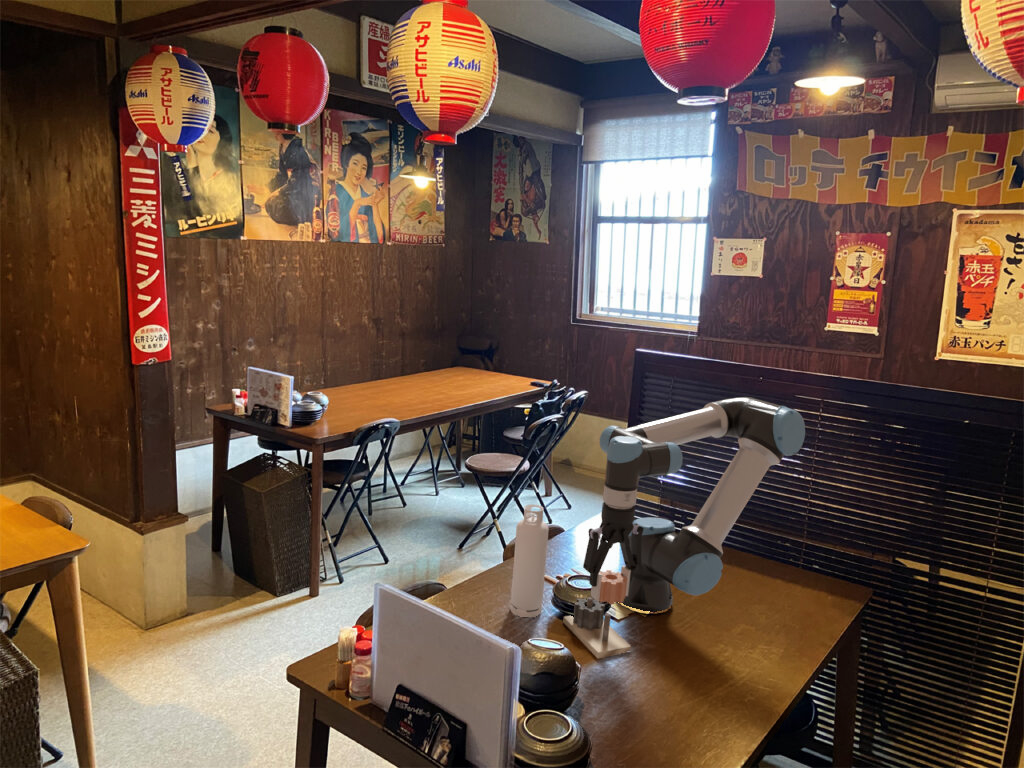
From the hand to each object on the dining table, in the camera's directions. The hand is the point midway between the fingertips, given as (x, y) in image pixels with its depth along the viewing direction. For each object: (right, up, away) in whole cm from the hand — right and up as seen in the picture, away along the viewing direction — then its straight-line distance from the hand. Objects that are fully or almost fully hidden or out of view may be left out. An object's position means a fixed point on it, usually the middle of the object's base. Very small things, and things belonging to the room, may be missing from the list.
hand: (609, 595), depth 174 cm
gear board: (-2, -12, +6) cm, 14 cm away
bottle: (-19, -9, +17) cm, 27 cm away
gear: (0, 0, 0) cm, 0 cm away
